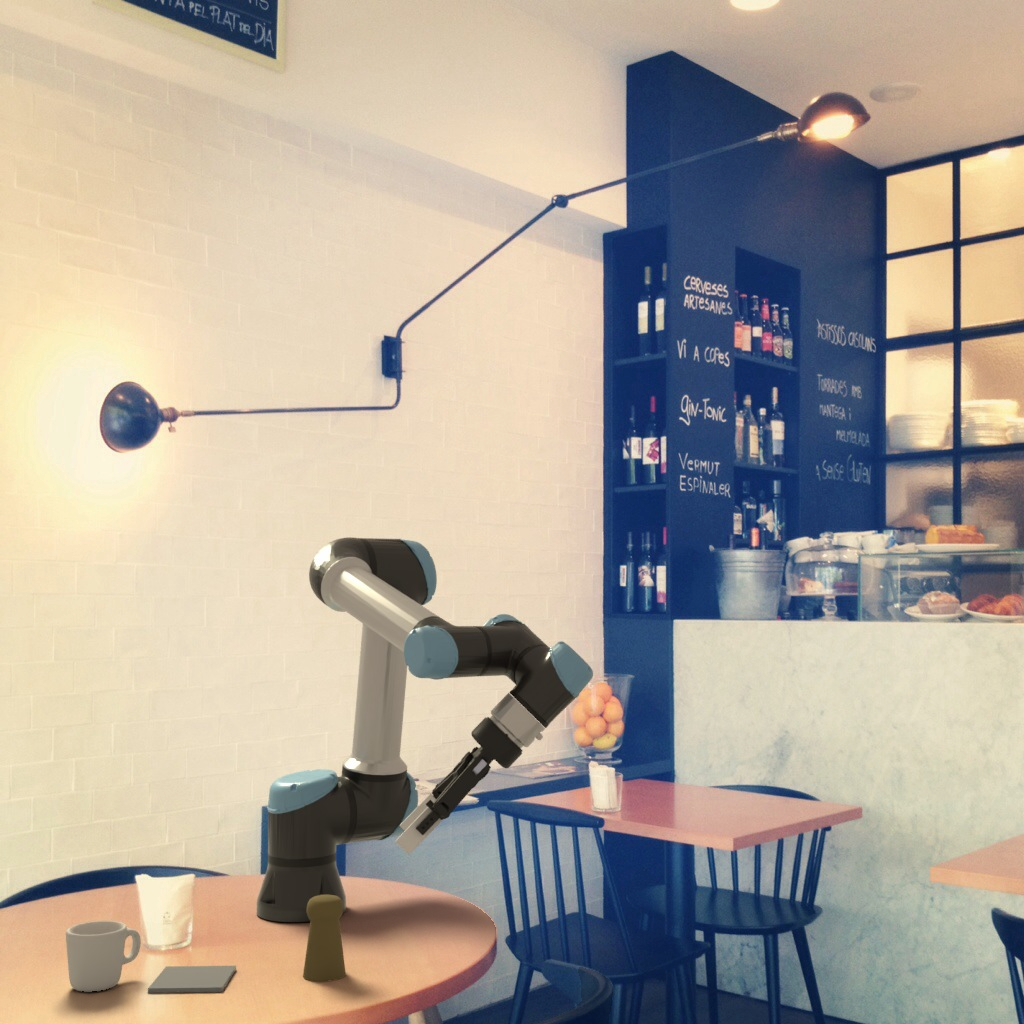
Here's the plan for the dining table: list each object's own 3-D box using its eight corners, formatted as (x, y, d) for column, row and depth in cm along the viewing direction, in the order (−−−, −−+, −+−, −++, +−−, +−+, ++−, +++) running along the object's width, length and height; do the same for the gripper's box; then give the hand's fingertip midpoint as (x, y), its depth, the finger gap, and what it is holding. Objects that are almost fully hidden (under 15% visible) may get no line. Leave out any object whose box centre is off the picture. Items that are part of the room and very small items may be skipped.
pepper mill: (304, 983, 167) (305, 902, 168) (300, 970, 173) (301, 892, 174) (348, 979, 169) (349, 899, 169) (342, 967, 174) (343, 889, 175)
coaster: (165, 970, 173) (166, 966, 173) (236, 969, 173) (236, 965, 173) (147, 992, 163) (147, 988, 163) (222, 991, 163) (222, 987, 163)
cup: (122, 970, 173) (123, 913, 174) (154, 981, 168) (155, 922, 169) (52, 988, 165) (54, 928, 165) (84, 1000, 160) (86, 938, 160)
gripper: (530, 759, 163) (420, 875, 161) (520, 742, 188) (425, 842, 186) (490, 720, 163) (380, 836, 161) (486, 708, 188) (390, 808, 186)
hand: (404, 839), depth 173 cm, fingers open, 13 cm apart
